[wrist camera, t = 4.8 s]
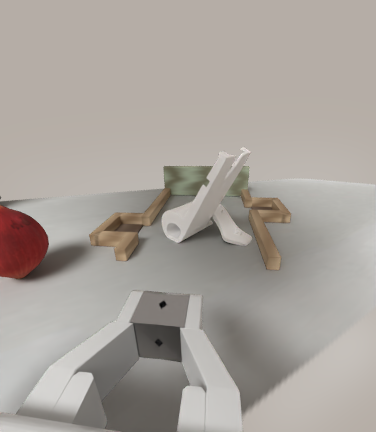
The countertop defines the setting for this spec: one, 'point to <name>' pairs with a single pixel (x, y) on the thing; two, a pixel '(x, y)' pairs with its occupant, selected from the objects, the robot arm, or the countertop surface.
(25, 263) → the onion
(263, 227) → the trap lane
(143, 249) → the countertop surface
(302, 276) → the countertop surface
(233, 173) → the plastic part
